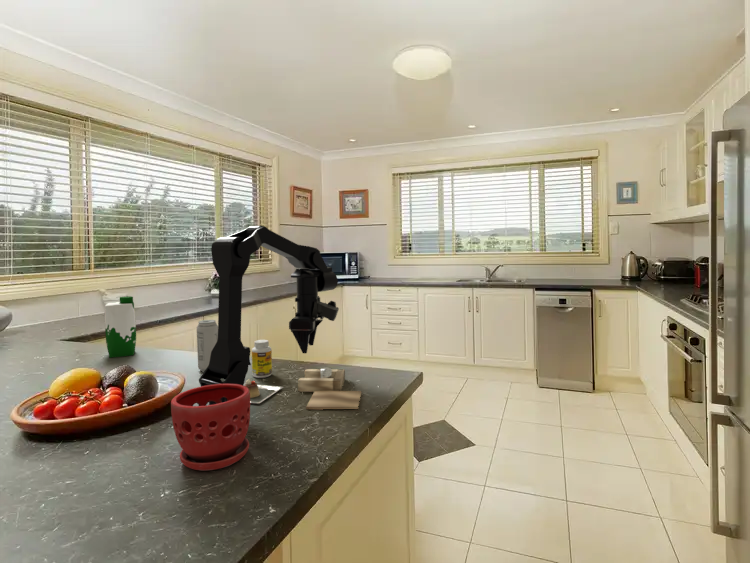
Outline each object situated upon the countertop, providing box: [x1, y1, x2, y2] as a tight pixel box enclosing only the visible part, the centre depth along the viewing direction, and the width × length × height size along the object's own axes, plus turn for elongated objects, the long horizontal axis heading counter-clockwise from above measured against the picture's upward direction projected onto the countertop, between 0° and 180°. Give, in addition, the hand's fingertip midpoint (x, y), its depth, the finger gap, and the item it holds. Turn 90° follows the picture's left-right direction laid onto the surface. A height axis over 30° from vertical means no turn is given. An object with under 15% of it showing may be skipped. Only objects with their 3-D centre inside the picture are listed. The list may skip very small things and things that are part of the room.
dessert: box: [243, 378, 284, 405], centre depth 109 cm, size 12×12×5 cm
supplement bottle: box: [251, 339, 273, 379], centre depth 125 cm, size 6×6×10 cm
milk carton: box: [104, 295, 137, 359], centre depth 149 cm, size 9×9×20 cm
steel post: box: [319, 366, 332, 378], centre depth 116 cm, size 3×3×4 cm
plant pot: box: [170, 384, 251, 471], centre depth 77 cm, size 13×13×12 cm
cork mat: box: [305, 390, 362, 410], centre depth 105 cm, size 11×12×1 cm
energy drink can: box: [196, 319, 218, 373], centre depth 130 cm, size 6×6×15 cm
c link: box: [297, 368, 346, 393], centre depth 116 cm, size 11×10×3 cm
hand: (308, 349), depth 120 cm, fingers open, 9 cm apart
